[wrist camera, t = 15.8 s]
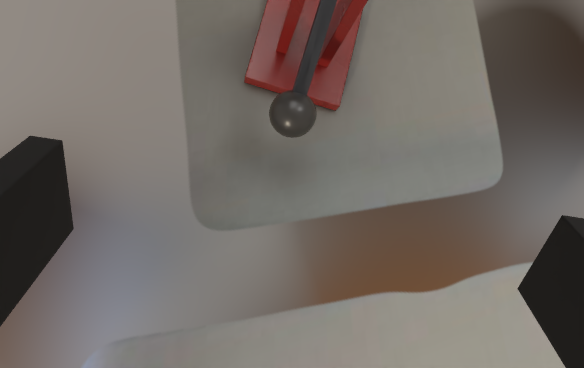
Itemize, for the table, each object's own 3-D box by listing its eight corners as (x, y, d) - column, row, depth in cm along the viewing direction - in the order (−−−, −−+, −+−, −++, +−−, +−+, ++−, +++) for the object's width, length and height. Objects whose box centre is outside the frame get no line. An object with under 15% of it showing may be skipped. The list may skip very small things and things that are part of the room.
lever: (306, 137, 35) (309, 148, 32) (264, 124, 34) (262, 134, 31) (367, -48, 30) (378, -57, 27) (319, -65, 30) (325, -77, 27)
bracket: (335, 111, 40) (396, 39, 27) (244, 82, 39) (259, -8, 26) (360, 10, 42) (427, -102, 29) (273, -20, 41) (302, -151, 28)
